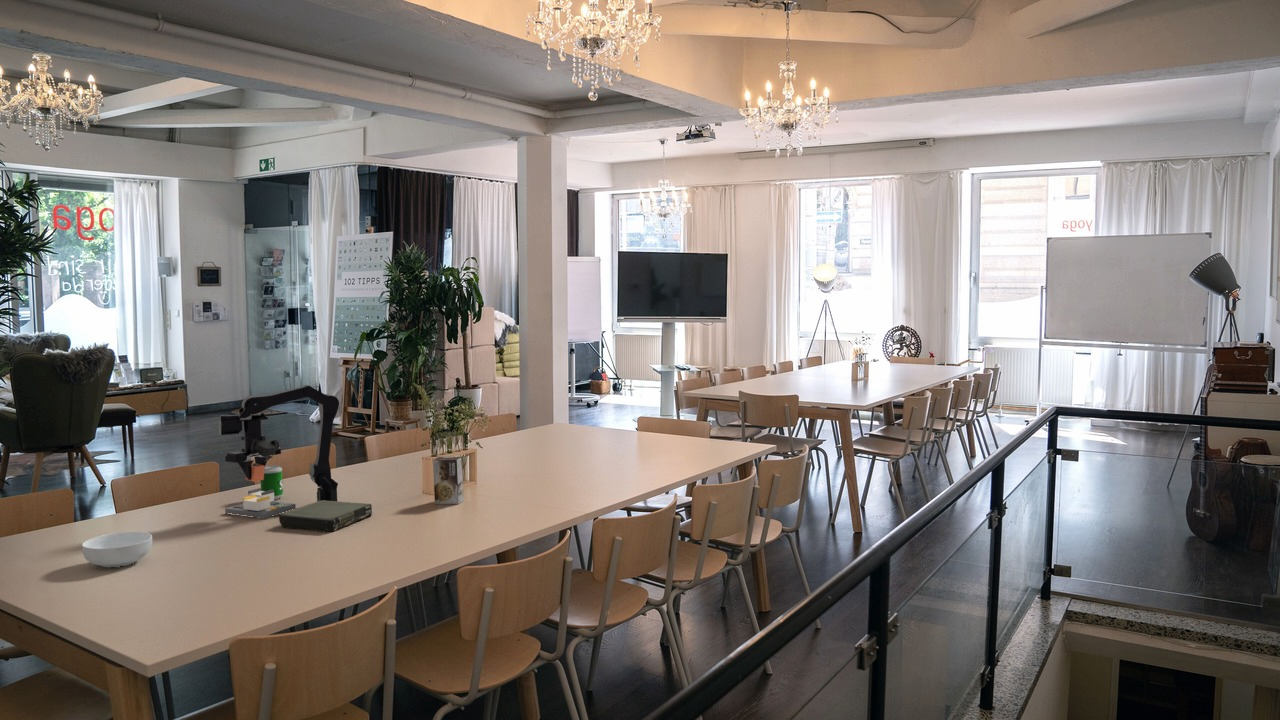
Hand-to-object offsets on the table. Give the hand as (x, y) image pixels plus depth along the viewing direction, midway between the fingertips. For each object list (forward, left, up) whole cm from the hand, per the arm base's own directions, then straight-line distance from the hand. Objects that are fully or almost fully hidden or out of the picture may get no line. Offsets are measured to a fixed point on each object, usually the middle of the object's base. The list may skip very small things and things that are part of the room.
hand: (254, 478), depth 297 cm
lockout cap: (0, 0, 0) cm, 0 cm away
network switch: (-30, -2, -13) cm, 33 cm away
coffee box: (-51, -40, -13) cm, 66 cm away
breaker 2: (-1, 0, -10) cm, 10 cm away
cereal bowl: (-9, +55, -13) cm, 57 cm away
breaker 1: (+6, -8, -10) cm, 14 cm away
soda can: (+14, -20, -13) cm, 28 cm away
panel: (+2, -4, -13) cm, 13 cm away
